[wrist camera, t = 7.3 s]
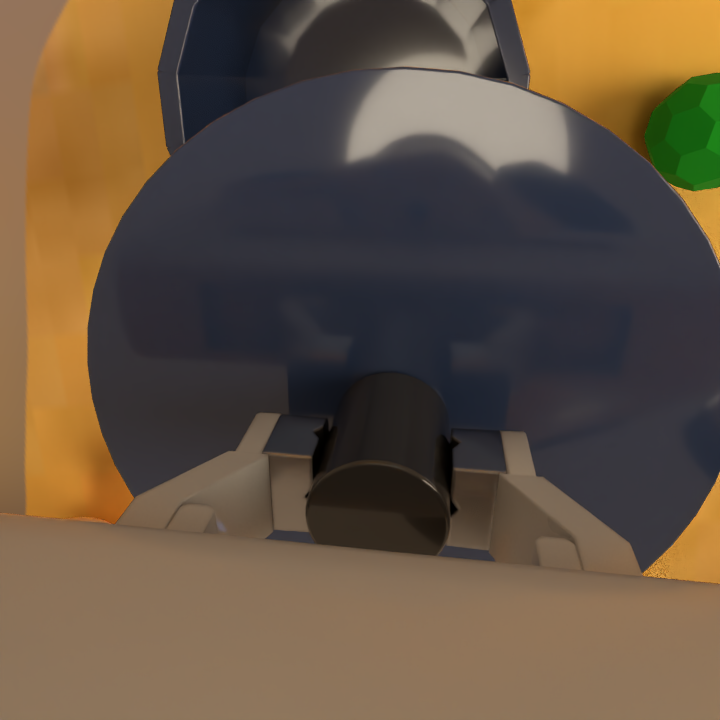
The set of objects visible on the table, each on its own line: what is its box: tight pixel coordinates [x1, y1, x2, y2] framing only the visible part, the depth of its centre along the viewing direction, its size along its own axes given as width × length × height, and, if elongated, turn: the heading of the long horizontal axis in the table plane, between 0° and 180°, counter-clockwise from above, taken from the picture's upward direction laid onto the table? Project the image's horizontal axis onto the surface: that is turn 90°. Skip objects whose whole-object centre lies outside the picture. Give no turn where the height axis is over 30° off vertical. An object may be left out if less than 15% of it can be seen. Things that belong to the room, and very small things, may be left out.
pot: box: [158, 0, 530, 155], centre depth 26 cm, size 14×19×10 cm
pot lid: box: [88, 66, 720, 573], centre depth 13 cm, size 15×15×5 cm
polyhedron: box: [644, 73, 720, 191], centre depth 27 cm, size 5×5×5 cm
